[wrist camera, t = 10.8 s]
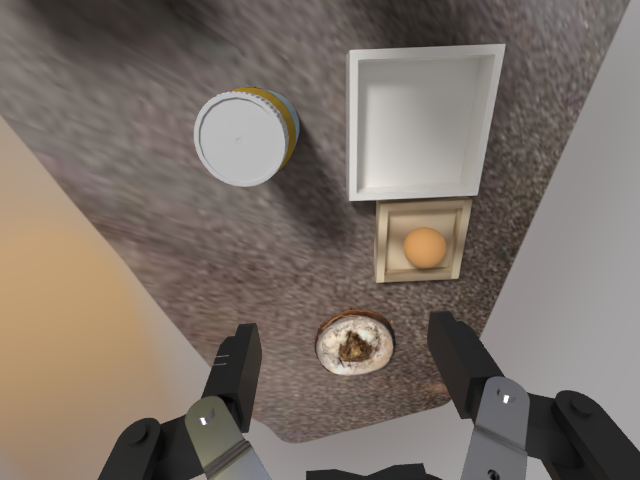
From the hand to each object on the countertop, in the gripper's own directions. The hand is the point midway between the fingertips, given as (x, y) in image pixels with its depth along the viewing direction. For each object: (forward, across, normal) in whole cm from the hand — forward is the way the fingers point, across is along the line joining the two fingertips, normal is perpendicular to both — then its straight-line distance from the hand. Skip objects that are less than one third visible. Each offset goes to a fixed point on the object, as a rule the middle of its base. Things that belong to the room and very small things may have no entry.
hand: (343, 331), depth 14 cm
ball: (+24, -12, +8) cm, 28 cm away
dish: (+26, -10, -6) cm, 28 cm away
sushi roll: (+25, -4, +25) cm, 36 cm away
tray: (+25, -12, +8) cm, 29 cm away
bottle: (+26, +6, -7) cm, 27 cm away
